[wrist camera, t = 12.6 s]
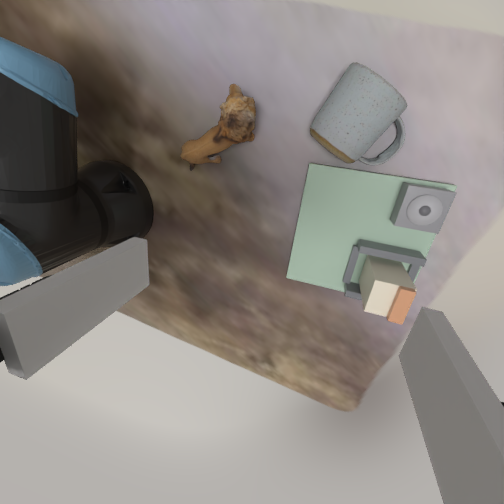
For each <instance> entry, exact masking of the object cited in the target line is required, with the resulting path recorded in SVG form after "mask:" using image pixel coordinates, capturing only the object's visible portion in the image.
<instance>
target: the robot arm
mask: <svg viewBox="0 0 504 504" xmlns="http://www.w3.org/2000/svg"><path fill="white" fill-rule="evenodd" d="M77 117H78V112H77V111H76V103H75V91H74V83H73V80H72V77H71V75H70V74H69V73H68V71H67V70H66V69H65V68H64V67H63V66H62V65H60V64H59V63H57V62H56V61H53V60H51V59H49V58H47V57H45V56H43V55H41V54H38V53H36V52H34V51H32V50H29V49H27V48H25V47H23V46H20V45H18V44H16V43H13V42H11V41H9V40H6V39H4V38H2V37H0V286H8V285H13V284H16V283H18V282H21V281H23V280H26V279H29V278H31V277H38V276H39V275H41V274H43V273H45V272H47V271H49V270H51V269H53V268H56V267H58V266H60V265H62V264H64V263H66V262H68V261H71V260H73V259H75V258H77V257H79V256H81V255H83V254H86V253H88V252H90V251H92V250H94V249H96V248H99V247H111V248H109V249H107V250H105V251H103V252H101V253H99V254H97V255H94V256H92V257H90V258H88V259H86V260H84V261H82V262H80V263H77V264H75V265H73V266H71V267H69V268H67V269H65V270H63V271H60V272H58V273H56V274H54V275H50V276H47V277H44V278H42V279H40V280H38V281H35V282H33V283H32V284H31V285H27V286H25V287H23V288H21V289H20V290H16V291H14V292H12V293H10V294H7V295H5V296H3V297H1V298H0V362H1V361H3V360H4V361H5V364H6V366H7V369H8V372H9V373H11V374H13V375H16V376H18V377H20V378H23V379H26V380H27V379H28V378H29V377H31V376H32V375H33V374H34V373H36V372H37V371H38V370H39V369H41V368H42V367H43V366H45V365H46V364H47V363H49V362H50V361H51V360H53V359H54V358H55V357H56V356H58V355H59V354H60V353H62V352H63V351H64V350H66V349H67V348H68V347H70V346H71V345H72V344H73V343H75V342H76V341H77V340H79V339H80V338H81V337H82V336H84V335H85V334H86V333H88V332H89V331H90V330H92V329H93V328H94V327H95V326H97V325H98V324H99V323H101V322H102V321H103V320H105V319H106V318H107V317H108V316H110V315H111V314H112V313H114V312H115V311H116V310H117V309H119V308H120V307H121V306H123V305H124V304H125V303H127V302H128V301H129V300H130V299H132V298H133V297H134V296H136V295H137V294H138V293H140V292H141V291H142V290H143V289H145V288H146V287H147V286H149V269H148V249H147V240H146V239H142V238H143V237H144V236H145V235H146V234H147V233H148V231H149V229H150V227H151V224H152V220H153V206H152V201H151V198H150V195H149V192H148V190H147V188H146V186H145V185H144V183H143V182H142V180H141V179H140V178H139V176H138V175H137V174H136V173H135V172H134V171H132V170H131V169H130V168H129V167H127V166H125V165H124V164H122V163H119V162H116V161H111V160H105V161H95V162H91V163H88V164H86V165H84V166H82V167H81V168H79V169H77ZM399 358H400V362H401V365H402V368H403V371H404V375H405V378H406V381H407V384H408V387H409V391H410V394H411V398H412V401H413V404H414V408H415V410H416V414H417V417H418V420H419V424H420V427H421V431H422V434H423V437H424V440H425V443H426V447H427V450H428V453H429V457H430V460H431V463H432V467H433V470H434V473H435V476H436V479H437V483H438V486H439V489H440V493H441V496H442V499H443V503H444V504H504V402H500V401H499V399H498V397H497V396H496V394H495V393H494V391H493V390H492V388H491V386H490V385H489V383H488V382H487V380H486V379H485V377H484V376H483V374H482V372H481V371H480V370H479V368H478V367H477V365H476V363H475V362H474V360H473V358H472V357H471V355H470V354H469V352H468V351H467V349H466V348H465V346H464V345H463V343H462V341H461V340H460V338H459V337H458V335H457V334H456V332H455V330H454V329H453V327H452V326H451V324H450V323H449V321H448V320H447V318H446V316H445V315H444V313H443V312H441V311H437V310H432V309H429V308H425V307H422V308H421V310H420V312H419V315H418V317H417V319H416V321H415V323H414V325H413V327H412V329H411V331H410V333H409V335H408V338H407V340H406V342H405V344H404V346H403V348H402V350H401V352H400V354H399Z"/></svg>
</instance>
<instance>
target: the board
mask: <svg viewBox="0 0 504 504" xmlns="http://www.w3.org/2000/svg"><path fill="white" fill-rule="evenodd" d="M403 182H407V183H413V184H419V185H426V186H432V187H439V188H445V189H448V190H451V191H453V192H455V190H456V188H457V186H456V185H453V184H446V183H439V182H433V181H426V180H420V179H413V178H407V177H400V176H393V175H387V174H380V173H374V172H367V171H360V170H354V169H347V168H341V167H334V166H328V165H321V164H314V163H310V164H309V168H308V173H307V178H306V183H305V188H304V193H303V198H302V203H301V208H300V213H299V218H298V223H297V228H296V232H295V237H294V242H293V247H292V252H291V257H290V262H289V267H288V272H287V277H286V278H289V279H294V280H298V281H302V282H306V283H310V284H314V285H318V286H322V287H326V288H330V289H334V290H338V291H342V292H345V291H344V285H345V283H343V277H344V274H345V270H346V267H347V264H348V261H349V257H350V254H351V251H352V248H353V244H354V245H357V244H358V241H359V239H363V240H368V241H373V242H378V243H383V244H387V245H392V246H397V247H402V248H407V249H412V250H417V251H420V252H421V253H422V254H423V256H424V257H425V258H426V256H427V253H428V251H429V249H430V247H431V244H432V242H433V240H434V238H435V235H436V234H435V233H430V232H425V231H419V230H414V229H409V228H404V227H398V226H394V225H393V223H392V222H391V221H390V217H391V214H392V211H393V209H394V206H395V203H396V200H397V197H398V195H399V192H400V189H401V186H402V183H403ZM366 257H367V255H366V254H362V253H359V256H358V259H357V262H356V265H355V268H354V272H353V275H352V278H351V281H350V282H354V283H358V284H359V278H360V275H361V272H362V269H363V266H364V263H365V260H366ZM402 264H403V266H404V268H405V269H406V271H407V270H408V268H409V265H410V264H408V263H404V262H402ZM421 267H422V266H420V268H419V270H418V273H417V275H416V277H415V279H414V282H413V284H414V283H415V280H416V278H417V276H418V274H419V271H420V269H421Z"/></svg>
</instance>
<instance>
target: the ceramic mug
mask: <svg viewBox="0 0 504 504" xmlns="http://www.w3.org/2000/svg"><path fill="white" fill-rule="evenodd" d="M406 107H407V103H406V101H405V99H404V98H403V97H402V95H401V94H400V93H399V92H398V91H397V90H396V89H395V88H394V87H393V86H392V85H391V84H389V83H388V82H387V81H386V80H385V79H383V78H382V77H381V76H379V75H378V74H376V73H375V72H374V71H372V70H371V69H370V68H368V67H366V66H364V65H361V64H359V63H352V64H350V66H349V67H348V69H347V70H346V72H345V73H344V75H343V76H342V78H341V79H340V81H339V82H338V84H337V85H336V87H335V88H334V90H333V91H332V93H331V94H330V96H329V98H328V99H327V101H326V102H325V104H324V105H323V106H322V108H321V109H320V111H319V112H318V114H317V115H316V117H315V119H314V121H313V123H312V125H311V128H310V134H311V135H312V137H313V138H315V139H316V140H317V141H318V142H319V143H320V144H321V145H323V146H324V147H325V148H326V149H327V150H329V151H330V152H331V153H333V154H334V155H336V156H337V157H338V158H340V159H341V160H343V161H344V162H346V163H353V162H355V161H356V160H358V159H359V160H360V161H361V162H363V163H365V164H368V165H379V164H382V163H385V162H386V161H388V160H389V159H391V158H392V157H393V156H394V155H395V154H396V153H397V152H398V151H399V150H400V149H401V147H402V145H403V143H404V140H405V127H404V124H403V121H402V119H401V118H400V115H401V114H402V113H403V111H404V110H405V109H406ZM394 121H395V123H396V126H397V137H396V140H395V141H394V143H393V144H392V145H391V146H390V147H389V148H388V149H387V150H386V151H385V152H383V153H382V154H380V155H379V156H378V158H375V159H366V158H363V157H361V156H362V155H363V154H364V153H365V152H366V151H367V150H368V149H369V148H370V147H371V146H372V144H373V143H374V142H375V141H376V140H377V139H378V138H379V137H380V136H381V135H382V134H383V133H384V132H385V131H386V130H387V128H388V127H389V126H390V125H391V124H392V123H393V122H394Z"/></svg>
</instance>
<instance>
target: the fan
mask: <svg viewBox="0 0 504 504" xmlns="http://www.w3.org/2000/svg"><path fill="white" fill-rule="evenodd" d="M455 195H456V192H453V191H451V190H448V189H445V188H439V187H432V186H426V185H419V184H413V183H407V182H403V183H402V186H401V189H400V192H399V195H398V197H397V200H396V203H395V206H394V209H393V211H392V214H391V217H390V221H391V222H392V223H393V225H394V226H398V227H404V228H409V229H414V230H419V231H425V232H430V233H435V234H438V233H439V231H440V229H441V227H442V225H443V222H444V220H445V218H446V216H447V213H448V211H449V209H450V207H451V204H452V202H453V200H454V198H455Z"/></svg>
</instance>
